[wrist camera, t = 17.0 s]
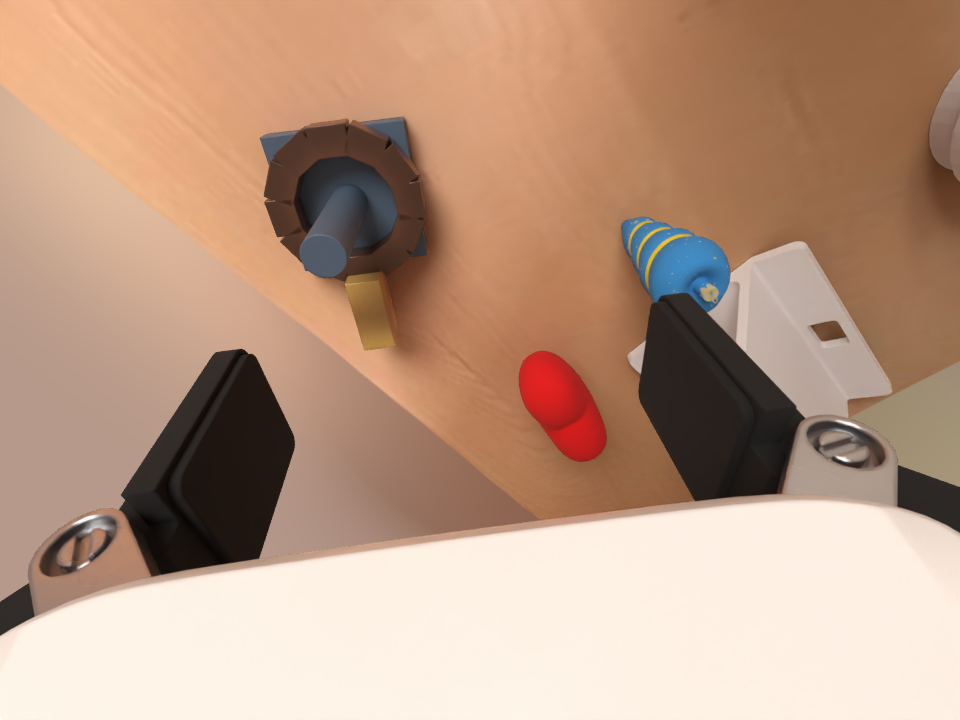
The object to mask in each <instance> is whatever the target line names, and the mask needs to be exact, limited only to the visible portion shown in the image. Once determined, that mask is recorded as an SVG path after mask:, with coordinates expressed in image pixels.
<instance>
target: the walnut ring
mask: <svg viewBox="0 0 960 720" xmlns="http://www.w3.org/2000/svg"><path fill="white" fill-rule="evenodd" d="M388 140H389V135H386V134H384V133H382V132H380V131H377V130H375V129H373V128H371V127H369V126H366V125H364V124H362V123H360V122H357V121H355V120H353V121H352V122H351V123H350V124H349V120H348V119H342V120H335V121H327V122H319V123H311V124H310V125H308V126H305V127H304V128H302V129H301V130H299V131H298V132H297V133H296V134H295V135H294V136H293V137H292V138H291V139H290V140H289V141H287V142H286V143H285V144H284V145H283V146H282V147H281V148H280V149H279V150H278V151H277V152H276V153H275V154H274V155H273V157H274V158H273V159H272V160H271V161H270V164H269V170H268V175H267V181H266V186H265V191H264V197H266V198H268V199H267V200H266V201H265V202H264V203H265V206H266V208H267V211H268V214H269V216H270V219H271V222H272V225H273V227H274V230H275V233H276V235H277V237H283V236H284V237H283V238H282V240H281V241H280V242H281V243H282V244H283V245H284V246H285V247H286V248H287V249H288V250H289V251H290V252H291V253H292V254H294V255H295V256H296V257H297V258H298V259H299V260H300V261H301V259H300V246H301V244H302V242H303V241H304V239H305V237H306V236H307V234H308V233H309V231H310V229H311V228H312V226H313V225H312V224H311V223H310V222H309V221H308V219H307V216H306V213H305V210H304V207H303V204H302V201H301V197H300V194H301V189H302V185H303V180H304V176H305V172H306V171H307V170H308V169H309V168H311V167H312V166H313V165H314V164H315V163H316V162H317V161H318V160H321V159H328V158H336V157H343V156H348V157H350V158H353V159H355V160H357V161H360V162H362V163H365V164H367V165H369V166H372V167H374V168H375V169H376V171H377V172H378V173H379V174H380V175H381V177H382V178H383V179H384V180H385V181H386V183H387V184H388V185H389V186H390V188H391V189H392V190H393V195H394V200H395V204H396V209H397V216H396V219H395V222H394V225H393V228H392V231H391V232H389V233H388V234H387V235H386V236H384V237H383V238H382V239H381V240H380V241H378V242H377V243H376V244H375V245H372V246H364V247H357V248H353V249H352V252H351V255H350V258H349V261H348V263H347V266H346V268H345V270H344V271H343V272H342V273H341V274H339V275H337V276H335V277H334V278H336V279H339V280H342V281H345V280H346V277H347V275H348V277H347V280H346V283H345V288H346V291H347V294H348V298H349V301H350V304H351V308H352V311H353V314H354V318H355V321H356V324H357V328H358V331H359V334H360V338H361V341H362V344H363V348H364V350H372V349H379V348H386V347H393V346H395V344H396V335H397V325H398V324H397V320H396V316H395V312H394V308H393V303H392V299H391V295H390V291H389V287H388V283H387V279H386V275H388V274H389V273H390V272H391V271H393V270H394V269H395V268H397V267H398V266H399V265H401V264H402V263H403V262H404V261H406V260H407V259H408V258H410V257H411V252H414V251H415V248H416V245H417V243H418V240H419V237H420V235H421V232H422V230H423V227H424V224H425V217H426V208H425V202H424V196H423V190H422V184H421V179H420V175H417V172H418V170H417V168H416V167H415V166H414V165H413V163H412V162H411V161H410V159H409V158H408V157H407V155H406V154H405V153H404V152H403V150H402V149H401V148H400V146H399V145H398V144H397V143H396V141H395V140H392V141H391V142H390V143H389V144H388ZM387 144H388V145H387ZM301 262H302V261H301Z"/></svg>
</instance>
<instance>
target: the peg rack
mask: <svg viewBox="0 0 960 720" xmlns="http://www.w3.org/2000/svg"><path fill="white" fill-rule="evenodd" d="M360 123H362V124H364V125H366V126H369V127H371V128H373V129H375V130H377V131H380V132H382V133H384V134H386V135H389V140H388V144H389V143H390V142H391V141H392V140H395V141H396V143H397V144H398V145H399V146H400V148H401V149H402V150H403V152H404V153H405V154H406V155H407V157H408V158H409V159H410V161H411V162H412V159H411V154H410V148H409V142H408V136H407V131H406V125H405V119H404V117H397V118H389V119H381V120H373V121H365V122H360ZM298 131H299V130H295V131H287V132H279V133H271V134H266V135H264V136H262V137H260V140H261V143H262V146H263V149H264V152H265V155H266V158H267V161H268V164H270V161H271V160H272V159H273V158H274V157H273V155H274V154H275V153H276V152H277V151H278V150H279V149H280V148H281V147H282V146H283V145H284V144H285V143H286V142H287V141H289V140H290V139H291V138H292V137H293V136H294V135H295V134H296V133H297V132H298ZM388 144H387V145H388ZM300 197H301V201H302V204H303V207H304V210H305V213H306V216H307V219H308V221H309V222H310V223H311V224H312V225H313V226H312V228H311V229H310V231H309V233H308V234H307V236H306V237H305V239H304V241H303V242H302V244H301V246H300V259H301V261H302V263H303V265H304V268H305V271H309V272H311V273H312V274H314V275H316V276H319V277H323V278H331V277H335V276H337V275H339V274H341V273H342V272H343V271H344V270H345V268H346V266H347V263H348V261H349V258H350V255H351V252H352V249H353V248H357V247H364V246H372V245H375V244H376V243H377V242H378V241H380V240H381V239H382V238H383V237H384V236H386V235H387V234H388V233H389V232H391V231H392V228H393V225H394V222H395V219H396V216H397V209H396V204H395V200H394V195H393V190H392V189H391V188H390V186H389V185H388V184H387V183H386V181H385V180H384V179H383V178H382V177H381V175H380V174H379V173H378V172H377V171H376V169H375V168H374V167H372V166H369V165H367V164H365V163H362V162H360V161H357V160H355V159H353V158H350V157H348V156H343V157H336V158H328V159H321V160H318V161H317V162H316V163H315V164H314V165H313V166H312V167H311V168H309V169H308V170H307V171H306V172H305V176H304V180H303V185H302V189H301V194H300ZM423 255H427V245H426V239H425V233H424V228H423V230H422V232H421V235H420V237H419V240H418V243H417V245H416V248H415V251H414V252H411V257H415V256H423Z"/></svg>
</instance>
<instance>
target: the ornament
mask: <svg viewBox="0 0 960 720" xmlns="http://www.w3.org/2000/svg"><path fill="white" fill-rule="evenodd" d="M622 238H623V244H624V248H625V250H626V252H627V254H628V256H629V257H630V258H631V259H632V262H633V265H634V268H635V269H636V271H637V272H638V274H639V276H640V280H641V283H642V285H643V287H644V289H645V290H646V291H647V292H648V294H649V295H650V296H651V298H652V301H653V303H654V302H658V299H659V297H660V296H662V295H669V294H677V293H688V294H690V295H691V296H692V297H693V298H694V300H695V301H696V302H697V303H698V304H699V305H700V306H701V307H702V308H703V309H704V310H705V311H706V312H709V311H711V310H712V309H714V308H715V307H716V306H717V305H718V303H719V302H720V300H721V299H722V297H723V296H724V294H725V293H726V291H727V289H728V286H729V283H730V276H731V274H730V266H729V263H728V260H727V257H726V255H725V254H724V252H723V250H722V249H721V248H720V247H719V246H718V245H717V244H716V243H715V242H713V241H711V240H709V239H707V238H704V237H699V236H695V235H694V234H693V233H691V232H690V231H688V230H685V229H681V228H673V227H671V226H670V225H668V224H665V223H661V222H655V221H654V220H653V219H651V218H649V217H638V218H634V219H631V220H626V221H624V222H623V223H622Z"/></svg>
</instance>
